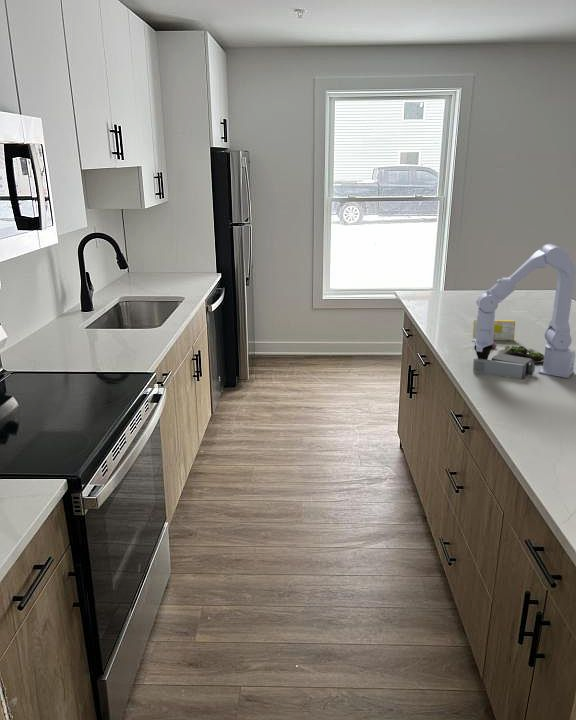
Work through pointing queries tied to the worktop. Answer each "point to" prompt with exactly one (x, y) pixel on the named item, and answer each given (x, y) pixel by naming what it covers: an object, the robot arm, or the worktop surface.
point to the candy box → (500, 330)
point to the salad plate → (524, 353)
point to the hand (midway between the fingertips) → (482, 365)
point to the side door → (499, 368)
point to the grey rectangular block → (516, 361)
